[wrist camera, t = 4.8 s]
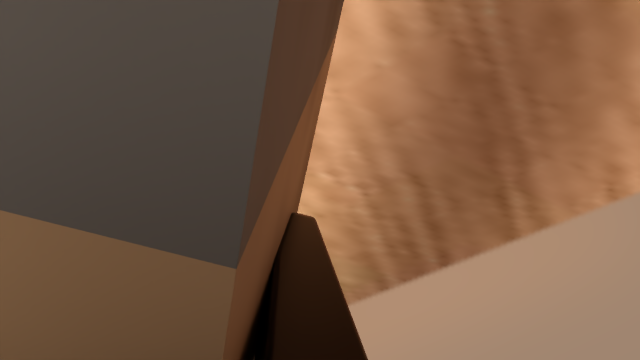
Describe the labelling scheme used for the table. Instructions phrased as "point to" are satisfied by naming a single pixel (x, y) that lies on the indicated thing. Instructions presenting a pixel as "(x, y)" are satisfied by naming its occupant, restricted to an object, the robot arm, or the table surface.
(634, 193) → the table surface
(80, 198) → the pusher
